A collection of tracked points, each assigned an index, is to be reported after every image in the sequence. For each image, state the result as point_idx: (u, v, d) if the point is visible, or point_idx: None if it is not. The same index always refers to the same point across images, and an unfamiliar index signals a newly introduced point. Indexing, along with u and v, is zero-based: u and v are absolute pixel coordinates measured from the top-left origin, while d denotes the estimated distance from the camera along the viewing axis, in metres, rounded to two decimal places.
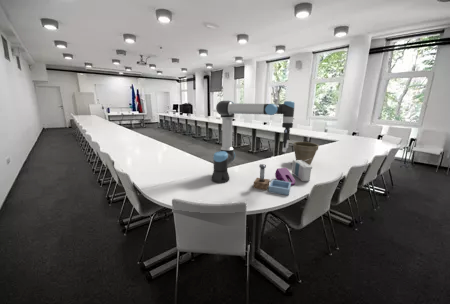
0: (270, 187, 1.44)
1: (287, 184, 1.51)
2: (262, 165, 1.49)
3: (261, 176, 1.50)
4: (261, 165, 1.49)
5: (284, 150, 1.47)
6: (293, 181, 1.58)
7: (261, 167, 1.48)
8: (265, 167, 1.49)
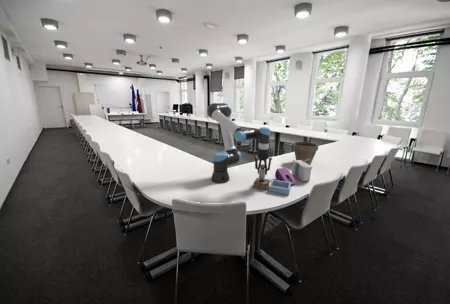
0: (270, 187, 1.44)
1: (287, 184, 1.51)
2: (262, 165, 1.49)
3: (261, 176, 1.50)
4: (261, 165, 1.49)
5: None
6: (293, 181, 1.58)
7: (261, 167, 1.48)
8: None
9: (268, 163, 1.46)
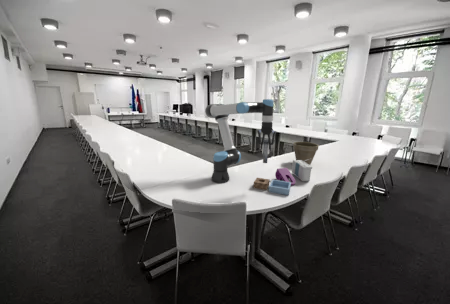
0: (270, 187, 1.44)
1: (287, 184, 1.51)
2: (266, 139, 1.44)
3: (265, 151, 1.45)
4: (265, 139, 1.44)
5: None
6: (293, 181, 1.58)
7: (265, 141, 1.42)
8: None
9: (272, 137, 1.41)
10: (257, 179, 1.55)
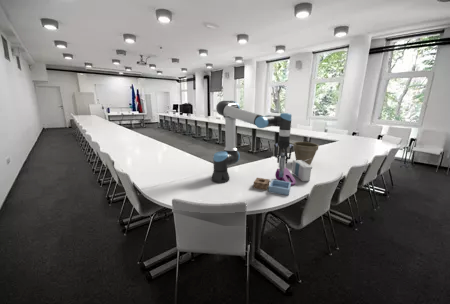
0: (270, 187, 1.44)
1: (287, 184, 1.51)
2: (282, 153, 1.41)
3: (281, 165, 1.42)
4: (281, 153, 1.41)
5: None
6: (293, 181, 1.58)
7: (281, 155, 1.40)
8: None
9: None
10: (257, 179, 1.55)
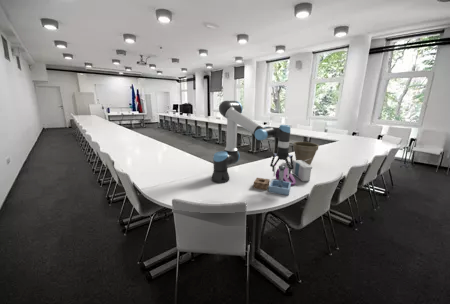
0: (270, 187, 1.44)
1: (287, 184, 1.51)
2: (282, 166, 1.43)
3: (280, 178, 1.45)
4: (280, 166, 1.43)
5: None
6: (294, 181, 1.58)
7: (281, 168, 1.42)
8: None
9: None
10: (257, 179, 1.55)
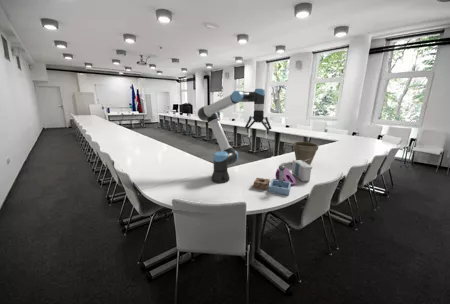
0: (270, 187, 1.44)
1: (287, 184, 1.51)
2: (282, 166, 1.43)
3: (280, 178, 1.45)
4: (281, 166, 1.43)
5: None
6: (294, 181, 1.58)
7: (281, 168, 1.42)
8: None
9: None
10: (257, 179, 1.55)
